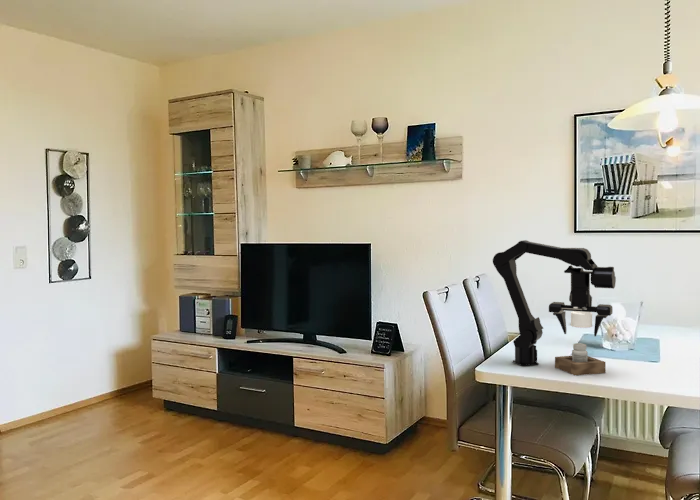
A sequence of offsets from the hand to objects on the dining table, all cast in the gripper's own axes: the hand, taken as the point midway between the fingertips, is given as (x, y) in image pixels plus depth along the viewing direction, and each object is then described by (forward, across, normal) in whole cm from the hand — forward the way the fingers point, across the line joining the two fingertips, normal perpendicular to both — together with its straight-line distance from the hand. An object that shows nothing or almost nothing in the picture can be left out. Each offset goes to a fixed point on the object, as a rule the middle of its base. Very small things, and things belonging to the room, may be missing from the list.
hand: (580, 335), depth 196 cm
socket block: (+12, 0, 0) cm, 12 cm away
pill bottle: (+12, 0, 0) cm, 12 cm away
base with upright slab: (+12, +14, -83) cm, 85 cm away
